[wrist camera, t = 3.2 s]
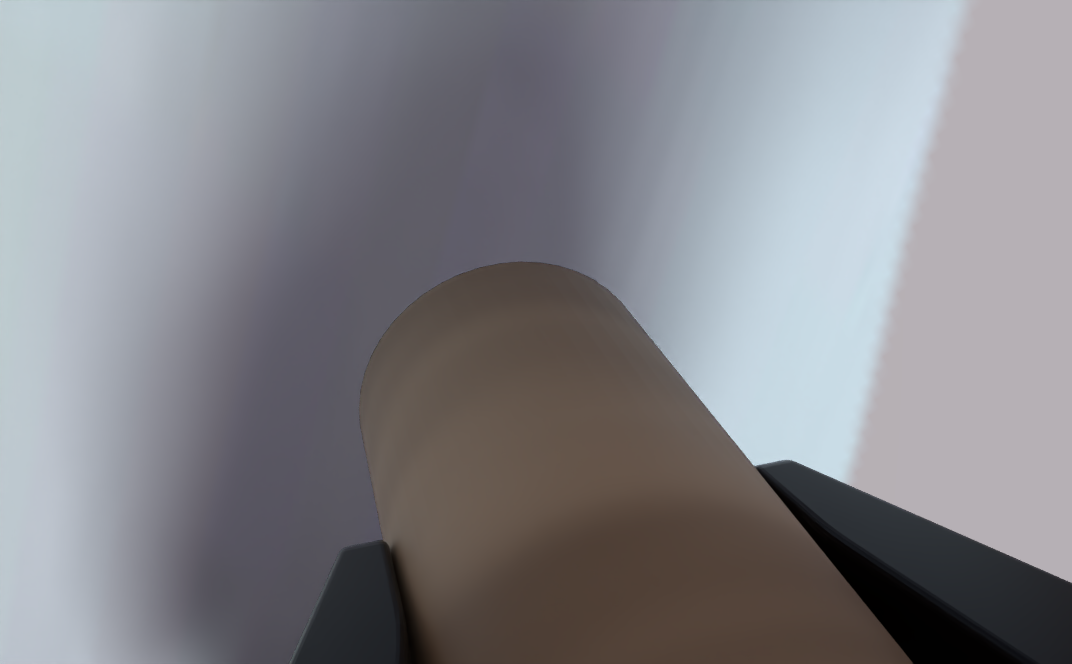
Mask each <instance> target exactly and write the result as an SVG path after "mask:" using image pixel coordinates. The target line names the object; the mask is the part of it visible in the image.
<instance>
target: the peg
mask: <svg viewBox="0 0 1072 664" xmlns="http://www.w3.org/2000/svg"><path fill="white" fill-rule="evenodd" d="M359 416H360V427H361V433H362V438H363V443H364V448H365V453H366V458H367V463H368V468H369V473H370V478H371V483H372V488H373V493H374V498H375V503H376V508H377V513H378V518H379V523H380V528H381V533H382V538H383V541H385V542H386V543H387V544H388V545H389V548H390V552H391V556H392V561H393V565H394V569H395V574H396V578H397V583H398V587H399V591H400V596H401V600H402V605H403V609H404V613H405V619H406V625H407V631H408V638H409V646H410V653H411V660H412V664H913V662H912V661H911V660H910V659H909V657H908V656H907V655H906V654H905V653H904V651H903V650H902V649H901V648H900V646H899V645H898V644H897V643H896V641H895V640H894V639H893V638H892V636H891V635H890V634H889V633H888V632H887V630H886V629H885V628H884V627H883V625H882V624H881V623H880V622H879V620H878V619H877V618H876V617H875V615H874V614H873V613H872V612H871V610H870V609H869V608H868V607H867V606H866V604H865V603H864V602H863V601H862V599H861V598H860V597H859V596H858V594H857V593H856V592H855V591H854V589H853V588H852V587H851V586H850V584H849V583H848V582H847V581H846V580H845V578H844V577H843V576H842V575H841V573H840V572H839V571H838V570H837V568H836V567H835V566H834V565H833V563H832V562H831V561H830V560H829V559H828V557H827V556H826V555H825V554H824V552H823V551H822V550H821V549H820V547H819V546H818V545H817V544H816V542H815V541H814V540H813V539H812V537H811V536H810V535H809V534H808V533H807V531H806V530H805V529H804V528H803V526H802V525H801V524H800V523H799V521H798V520H797V519H796V518H795V516H794V515H793V514H792V513H791V512H790V510H789V509H788V508H787V507H786V505H785V504H784V503H783V502H782V500H781V499H780V498H779V497H778V495H777V494H776V493H775V492H774V490H773V489H772V488H771V487H770V486H769V484H768V483H767V482H766V481H765V479H764V478H763V477H762V476H761V474H760V473H759V472H758V471H757V469H756V468H755V467H754V466H753V465H752V463H751V462H750V461H749V460H748V458H747V457H746V456H745V455H744V453H743V452H742V451H741V450H740V448H739V447H738V446H737V445H736V443H735V442H734V441H733V440H732V439H731V437H730V436H729V435H728V434H727V432H726V431H725V430H724V429H723V427H722V426H721V425H720V424H719V422H718V421H717V420H716V419H715V417H714V416H713V415H712V414H711V413H710V411H709V410H708V409H707V408H706V406H705V405H704V404H703V403H702V401H701V400H700V399H699V398H698V396H697V395H696V394H695V393H694V392H693V390H692V389H691V388H690V387H689V385H688V384H687V383H686V382H685V380H684V379H683V378H682V377H681V375H680V374H679V373H678V372H677V370H676V369H675V368H674V367H673V366H672V364H671V363H670V362H669V361H668V359H667V358H666V357H665V356H664V354H663V353H662V352H661V351H660V349H659V348H658V347H657V346H656V345H655V343H654V342H653V341H652V340H651V338H650V337H649V336H648V335H647V333H646V332H645V331H644V330H643V328H642V327H641V326H640V325H639V323H638V322H637V321H636V320H635V319H634V317H633V316H632V315H631V314H630V312H629V311H628V310H627V309H626V307H625V306H624V305H623V304H622V302H621V301H620V300H619V299H618V298H617V297H615V296H614V295H613V294H612V293H611V292H610V291H609V290H608V289H606V288H605V287H603V286H602V285H600V284H599V283H598V282H596V281H595V280H593V279H591V278H589V277H587V276H585V275H583V274H581V273H579V272H576V271H573V270H570V269H567V268H564V267H561V266H556V265H551V264H545V263H537V262H511V263H500V264H495V265H490V266H485V267H480V268H477V269H474V270H471V271H468V272H465V273H462V274H460V275H457V276H455V277H453V278H451V279H449V280H447V281H445V282H443V283H441V284H439V285H437V286H436V287H434V288H433V289H431V290H430V291H428V292H426V293H425V294H423V295H422V296H421V297H420V298H418V299H417V300H416V301H415V302H413V303H412V304H411V305H410V306H408V307H407V308H406V309H405V310H404V311H403V312H402V313H401V314H400V316H399V317H398V318H397V319H396V320H395V321H394V322H393V323H392V324H391V326H390V327H389V328H388V330H387V331H386V332H385V334H384V335H383V336H382V338H381V339H380V341H379V343H378V345H377V347H376V348H375V350H374V352H373V354H372V356H371V358H370V361H369V363H368V366H367V368H366V371H365V374H364V378H363V382H362V387H361V391H360V403H359Z"/></svg>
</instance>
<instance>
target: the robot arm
mask: <svg viewBox="0 0 1072 664" xmlns="http://www.w3.org/2000/svg"><path fill="white" fill-rule="evenodd" d="M754 467H755V468H756V469H757V471H758V472H759V473H760V474H761V476H762V477H763V478H764V479H765V481H766V482H767V483H768V484H769V486H770V487H771V488H772V489H773V490H774V492H775V493H776V494H777V495H778V497H779V498H780V499H781V500H782V502H783V503H784V504H785V505H786V507H787V508H788V509H789V510H790V512H791V513H792V514H793V515H794V516H795V518H796V519H797V520H798V521H799V523H800V524H801V525H802V526H803V528H804V529H805V530H806V531H807V533H808V534H809V535H810V536H811V537H812V539H813V540H814V541H815V542H816V544H817V545H818V546H819V547H820V549H821V550H822V551H823V552H824V554H825V555H826V556H827V557H828V559H829V560H830V561H831V562H832V563H833V565H834V566H835V567H836V568H837V570H838V571H839V572H840V573H841V575H842V576H843V577H844V578H845V580H846V581H847V582H848V583H849V584H850V586H851V587H852V588H853V589H854V591H855V592H856V593H857V594H858V596H859V597H860V598H861V599H862V601H863V602H864V603H865V604H866V606H867V607H868V608H869V609H870V610H871V612H872V613H873V614H874V615H875V617H876V618H877V619H878V620H879V622H880V623H881V624H882V625H883V627H884V628H885V629H886V630H887V632H888V633H889V634H890V635H891V636H892V638H893V639H894V640H895V641H896V643H897V644H898V645H899V646H900V648H901V649H902V650H903V651H904V653H905V654H906V655H907V656H908V657H909V659H910V660H911V661H912V662H913V664H1072V583H1070V582H1068V581H1066V580H1064V579H1061V578H1059V577H1057V576H1054V575H1052V574H1050V573H1048V572H1045V571H1043V570H1041V569H1038V568H1036V567H1034V566H1032V565H1029V564H1027V563H1025V562H1022V561H1020V560H1018V559H1016V558H1013V557H1011V556H1009V555H1006V554H1004V553H1002V552H1000V551H997V550H995V549H993V548H991V547H988V546H986V545H984V544H982V543H979V542H977V541H974V540H972V539H970V538H968V537H966V536H963V535H961V534H959V533H956V532H954V531H952V530H949V529H947V528H945V527H943V526H940V525H938V524H936V523H934V522H931V521H929V520H927V519H924V518H922V517H920V516H917V515H915V514H913V513H911V512H909V511H906V510H904V509H902V508H899V507H897V506H895V505H892V504H890V503H888V502H886V501H883V500H881V499H879V498H877V497H874V496H872V495H870V494H868V493H865V492H863V491H861V490H858V489H856V488H854V487H852V486H849V485H847V484H845V483H842V482H840V481H838V480H836V479H833V478H831V477H829V476H827V475H824V474H822V473H820V472H817V471H815V470H813V469H811V468H808V467H806V466H804V465H801V464H799V463H797V462H794V461H791V460H782V461H777V462H772V463H767V464H762V465H757V466H754ZM289 664H412V660H411V653H410V646H409V638H408V631H407V625H406V619H405V613H404V609H403V605H402V600H401V596H400V591H399V587H398V583H397V578H396V574H395V569H394V565H393V561H392V556H391V552H390V548H389V545H388V544H387V543H386V542H385V541H383V540H378V541H373V542H368V543H363V544H358V545H353V546H348V547H345V548H343V549H342V550H341V551H340V552H339V554H338V556H337V558H336V560H335V562H334V565H333V567H332V569H331V571H330V574H329V576H328V578H327V580H326V582H325V585H324V587H323V589H322V591H321V594H320V596H319V598H318V600H317V602H316V605H315V607H314V609H313V611H312V614H311V616H310V618H309V620H308V622H307V625H306V627H305V629H304V631H303V634H302V636H301V638H300V640H299V642H298V645H297V647H296V649H295V651H294V654H293V656H292V658H291V660H290V662H289Z"/></svg>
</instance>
